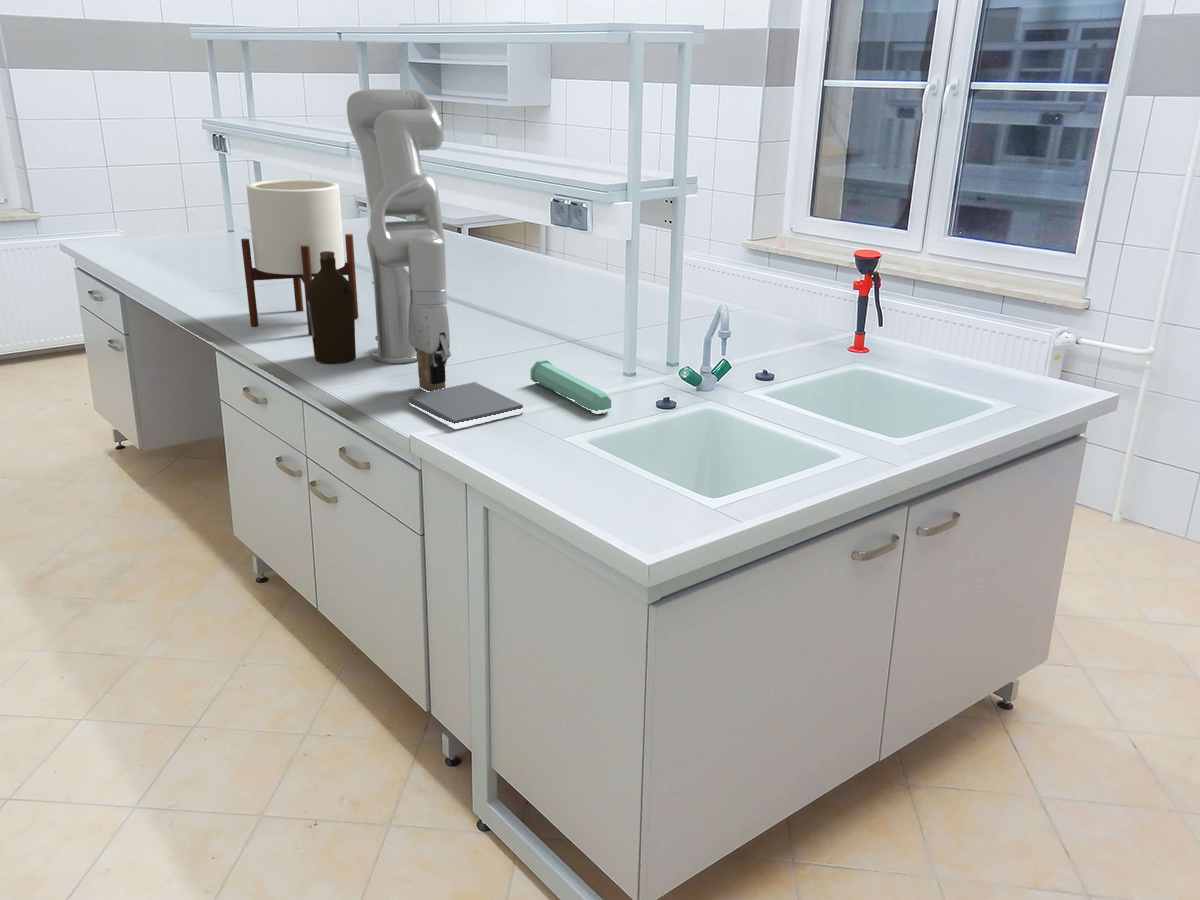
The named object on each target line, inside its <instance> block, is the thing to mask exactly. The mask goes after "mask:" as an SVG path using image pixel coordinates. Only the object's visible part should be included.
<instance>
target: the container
mask: <svg viewBox="0 0 1200 900" xmlns="http://www.w3.org/2000/svg"><path fill="white" fill-rule="evenodd" d="M530 380H532V382H533V383H534V382H539V383H540V384H539V385H541V384H542V385H541V386H543V385H544V386H546V387H548V388H550V389H552V390H554V391H556V392H558V393H560V394H561V395H563V396H565V397H568V398H570V399H573V400H575V402H577V403H578V404H580V405H582V406H584V407H586V408H588V409H591V410H595V411H598V410H605V409H609V408H610V409H611V408H612V399H611V397H610V396H609V394H607V393H606V392H604V391H602V390H600V389H599V388H597V387H595V386H593V385H591V384H590V383H587V382H585V381H584V380H582V379H579V378H578V377H576V376H574V375H571V374H570V373H568V372H566V371H564V370H562V369H560V368H558V367H557V366H554V365H553V364H552V363H551V362H550V361H549V360H548V359H541V360H536V361H535V363H534V364H533V365H532V367H530ZM544 386H543V387H544ZM546 387H545V388H546ZM548 388H547V389H548ZM550 389H549V390H550ZM552 390H551V391H552ZM561 395H560V396H561Z"/></svg>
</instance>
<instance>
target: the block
mask: <svg viewBox="0 0 1200 900" xmlns="http://www.w3.org/2000/svg"><path fill="white" fill-rule="evenodd" d="M437 351H440V348H437ZM438 356H440V354H436V359H437V358H438ZM418 364H419V374H418V379H419V381H418V382H419V383H418V384H419V388H420V387H421V388H423V389H425V390H427V391H434V390H438V389H442V388H446V381H445V382H444V383H439V384H434V385H433V384H432V383H431V366H433V365H432V360H431V354H428V353H425V352H423V351H421V350H419V349H418V361H417V365H418Z"/></svg>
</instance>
